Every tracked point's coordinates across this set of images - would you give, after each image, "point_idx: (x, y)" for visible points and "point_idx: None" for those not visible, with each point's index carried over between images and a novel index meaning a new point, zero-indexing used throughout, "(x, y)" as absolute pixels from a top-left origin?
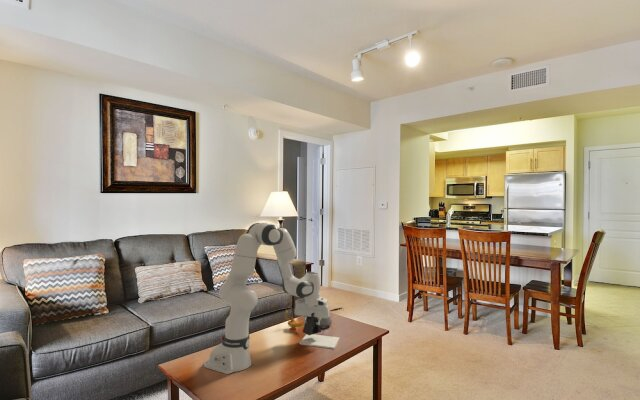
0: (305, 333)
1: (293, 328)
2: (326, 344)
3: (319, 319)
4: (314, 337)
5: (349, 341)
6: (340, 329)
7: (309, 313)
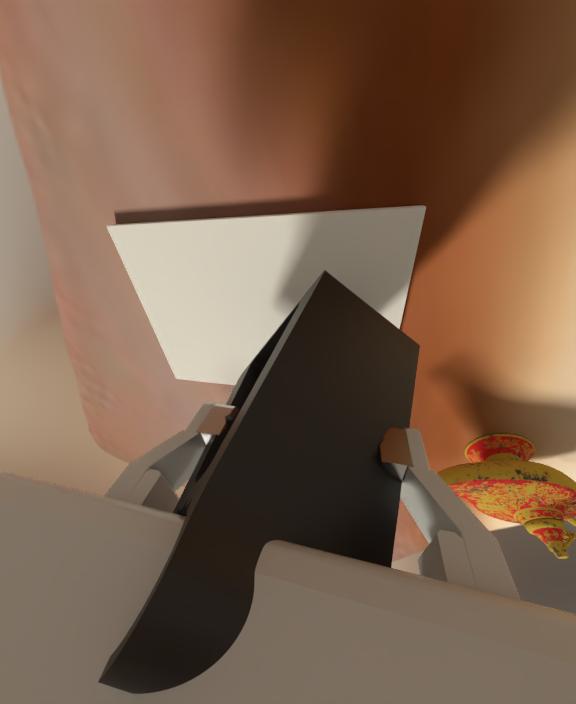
0: (374, 309)
1: (504, 454)
2: (182, 260)
3: (148, 466)
4: None
5: (124, 355)
6: None
7: (294, 674)
